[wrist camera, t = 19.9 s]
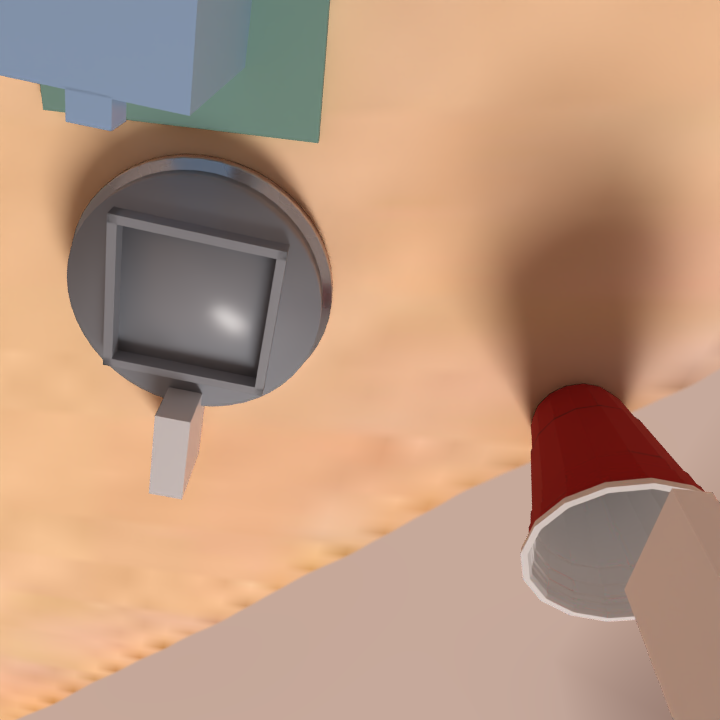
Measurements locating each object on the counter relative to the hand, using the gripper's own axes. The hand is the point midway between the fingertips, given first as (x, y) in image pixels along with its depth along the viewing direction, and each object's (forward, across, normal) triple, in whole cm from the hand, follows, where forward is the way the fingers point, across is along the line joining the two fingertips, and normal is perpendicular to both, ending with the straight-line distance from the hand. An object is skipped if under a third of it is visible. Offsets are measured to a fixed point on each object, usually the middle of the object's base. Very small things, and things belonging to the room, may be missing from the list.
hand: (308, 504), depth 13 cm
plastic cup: (+27, +16, -16) cm, 35 cm away
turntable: (+26, -8, -11) cm, 29 cm away
